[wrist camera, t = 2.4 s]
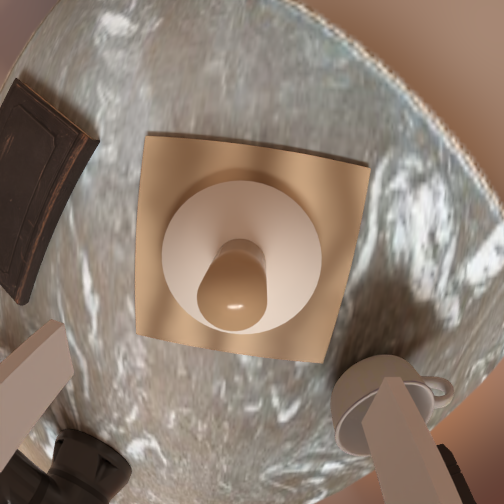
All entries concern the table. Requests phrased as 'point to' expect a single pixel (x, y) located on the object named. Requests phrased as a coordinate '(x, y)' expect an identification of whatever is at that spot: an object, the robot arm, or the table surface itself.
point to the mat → (263, 171)
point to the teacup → (365, 389)
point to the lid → (241, 257)
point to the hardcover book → (34, 182)
